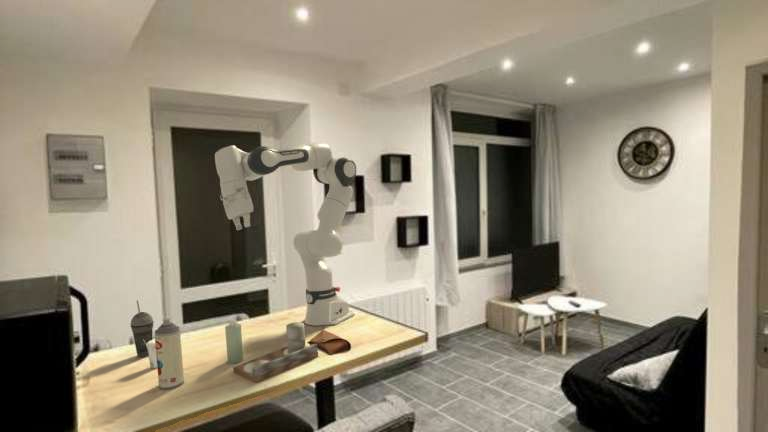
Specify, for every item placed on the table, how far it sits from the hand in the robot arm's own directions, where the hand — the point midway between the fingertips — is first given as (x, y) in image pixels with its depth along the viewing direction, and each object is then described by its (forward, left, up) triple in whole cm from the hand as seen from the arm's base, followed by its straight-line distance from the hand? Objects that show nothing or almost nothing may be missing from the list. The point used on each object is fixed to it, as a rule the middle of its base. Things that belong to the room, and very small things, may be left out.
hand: (243, 228), depth 153 cm
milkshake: (+29, -11, -44) cm, 54 cm away
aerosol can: (+31, +7, -44) cm, 54 cm away
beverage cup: (+27, -25, -44) cm, 58 cm away
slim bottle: (+10, +7, -44) cm, 45 cm away
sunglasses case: (-17, +23, -44) cm, 53 cm away
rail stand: (+3, +21, -44) cm, 49 cm away
